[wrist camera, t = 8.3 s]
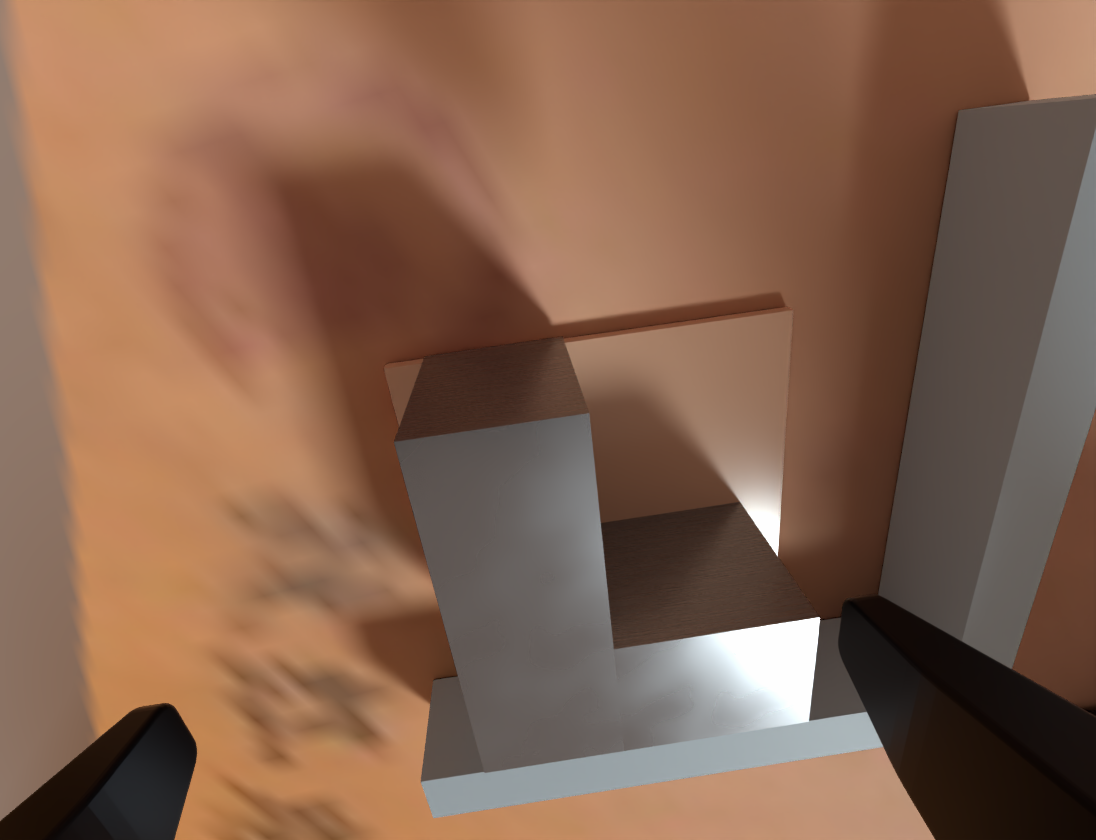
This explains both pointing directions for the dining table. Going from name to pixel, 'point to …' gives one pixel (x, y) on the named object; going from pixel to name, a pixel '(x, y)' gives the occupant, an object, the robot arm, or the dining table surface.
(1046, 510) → the corner wall
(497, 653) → the bracket
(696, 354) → the tile
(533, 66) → the dining table surface
